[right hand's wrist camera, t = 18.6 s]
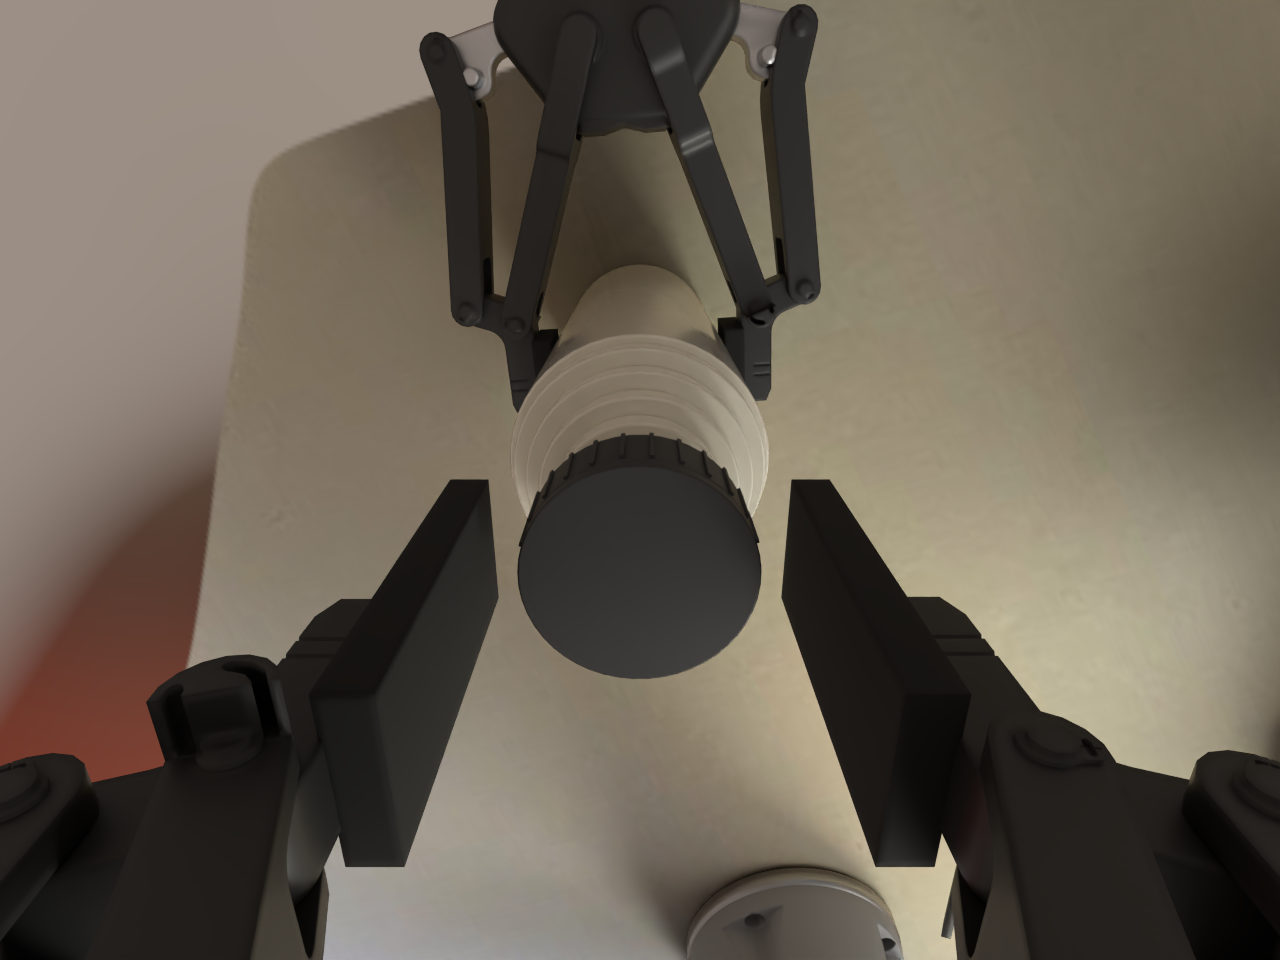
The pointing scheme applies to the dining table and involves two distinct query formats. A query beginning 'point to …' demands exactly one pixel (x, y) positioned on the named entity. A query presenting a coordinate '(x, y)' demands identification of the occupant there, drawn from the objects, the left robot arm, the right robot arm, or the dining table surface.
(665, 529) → the cap
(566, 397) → the bottle
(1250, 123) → the dining table surface
